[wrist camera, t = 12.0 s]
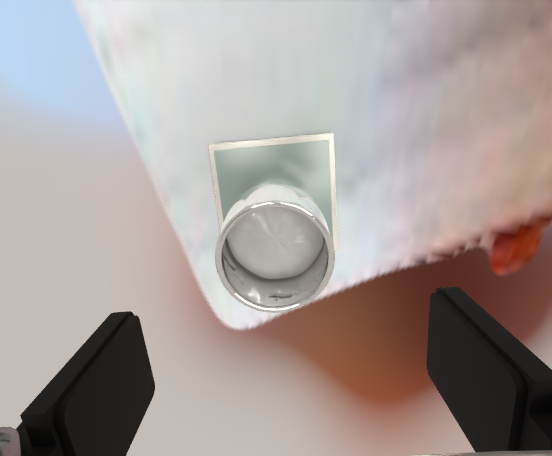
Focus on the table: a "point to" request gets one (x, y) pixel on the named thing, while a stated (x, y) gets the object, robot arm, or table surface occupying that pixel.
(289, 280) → the beer glass
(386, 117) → the table surface
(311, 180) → the base
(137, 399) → the robot arm
